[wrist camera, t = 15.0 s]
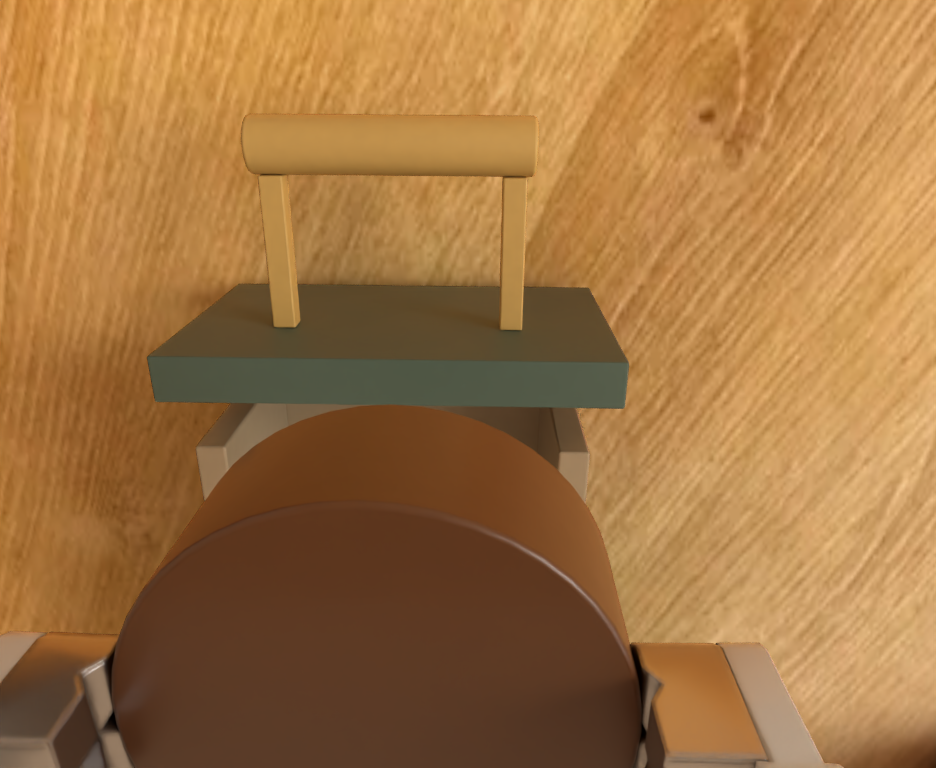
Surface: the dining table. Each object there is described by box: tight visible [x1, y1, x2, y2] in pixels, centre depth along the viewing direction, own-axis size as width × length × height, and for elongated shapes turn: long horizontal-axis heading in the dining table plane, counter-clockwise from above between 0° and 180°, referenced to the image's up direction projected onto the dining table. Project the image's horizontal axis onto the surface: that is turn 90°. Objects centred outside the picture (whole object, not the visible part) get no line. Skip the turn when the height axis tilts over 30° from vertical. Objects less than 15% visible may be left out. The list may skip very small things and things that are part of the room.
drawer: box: [147, 114, 629, 504], centre depth 21 cm, size 19×11×7 cm, turn 0°
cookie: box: [112, 404, 642, 768], centre depth 9 cm, size 6×6×2 cm
